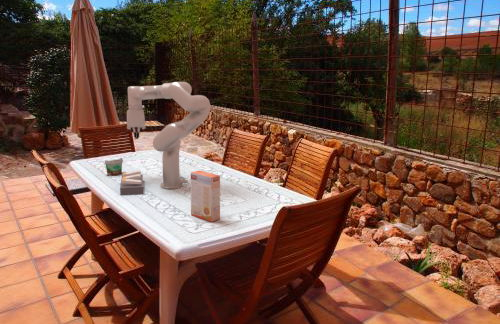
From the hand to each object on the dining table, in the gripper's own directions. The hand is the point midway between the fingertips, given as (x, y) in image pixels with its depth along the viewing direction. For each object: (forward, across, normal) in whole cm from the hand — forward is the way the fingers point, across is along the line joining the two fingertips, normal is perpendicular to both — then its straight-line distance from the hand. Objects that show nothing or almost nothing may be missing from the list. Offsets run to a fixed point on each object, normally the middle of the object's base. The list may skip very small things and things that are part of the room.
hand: (136, 138), depth 235 cm
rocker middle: (+20, +4, +13) cm, 24 cm away
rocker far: (+20, +4, +4) cm, 21 cm away
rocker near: (+20, +4, +22) cm, 30 cm away
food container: (+26, +13, -20) cm, 35 cm away
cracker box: (+27, -27, +71) cm, 80 cm away
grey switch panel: (+26, +4, +11) cm, 29 cm away
